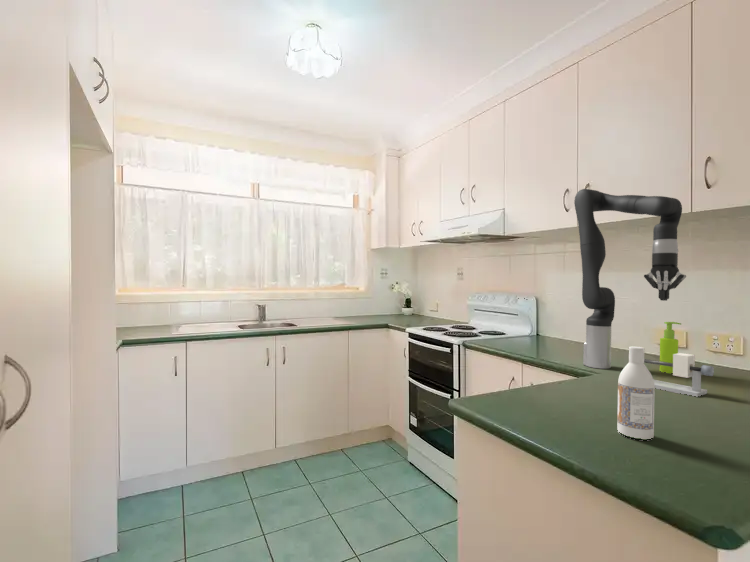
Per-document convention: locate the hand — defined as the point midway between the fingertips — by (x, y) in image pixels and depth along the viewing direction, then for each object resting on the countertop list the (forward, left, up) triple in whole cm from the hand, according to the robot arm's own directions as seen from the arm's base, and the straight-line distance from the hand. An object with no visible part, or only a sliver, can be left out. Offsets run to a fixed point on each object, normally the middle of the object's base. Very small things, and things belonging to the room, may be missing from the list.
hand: (663, 300), depth 144 cm
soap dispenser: (-5, +20, -29) cm, 36 cm away
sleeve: (+10, -11, -24) cm, 28 cm away
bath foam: (+20, -67, -29) cm, 76 cm away
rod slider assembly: (+6, -11, -29) cm, 32 cm away
